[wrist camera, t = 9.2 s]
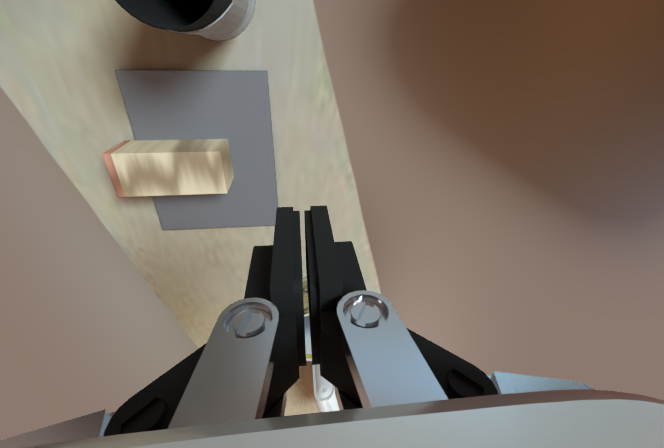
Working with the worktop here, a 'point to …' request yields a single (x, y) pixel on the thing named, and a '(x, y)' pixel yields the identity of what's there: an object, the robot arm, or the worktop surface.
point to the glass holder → (194, 16)
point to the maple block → (170, 167)
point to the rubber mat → (209, 123)
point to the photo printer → (323, 392)
